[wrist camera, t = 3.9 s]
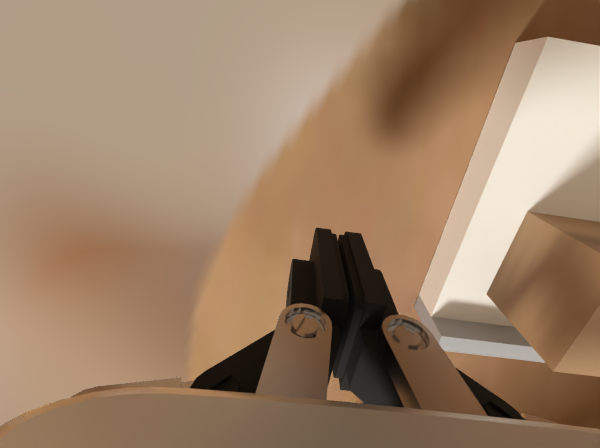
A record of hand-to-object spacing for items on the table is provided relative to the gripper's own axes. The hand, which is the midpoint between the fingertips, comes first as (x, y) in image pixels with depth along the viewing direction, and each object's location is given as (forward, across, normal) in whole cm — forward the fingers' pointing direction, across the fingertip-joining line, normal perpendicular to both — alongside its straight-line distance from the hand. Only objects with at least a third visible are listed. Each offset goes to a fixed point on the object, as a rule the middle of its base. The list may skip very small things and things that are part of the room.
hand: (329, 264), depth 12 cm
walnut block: (+4, -12, +1) cm, 13 cm away
